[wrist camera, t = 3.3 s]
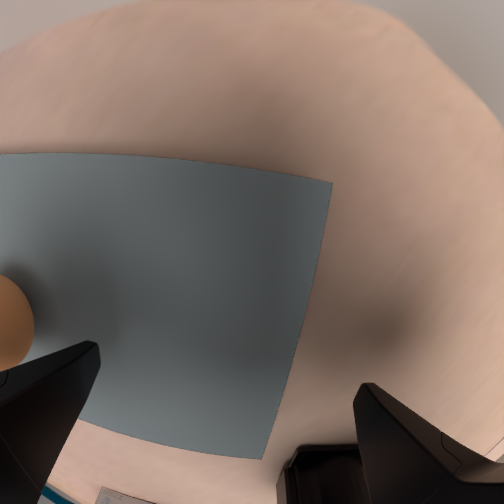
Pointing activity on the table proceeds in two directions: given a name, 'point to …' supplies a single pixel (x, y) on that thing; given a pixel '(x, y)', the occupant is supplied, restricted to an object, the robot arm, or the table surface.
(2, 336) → the ball
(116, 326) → the notched base with backboard
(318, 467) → the robot arm
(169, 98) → the table surface
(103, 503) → the light bulb box
